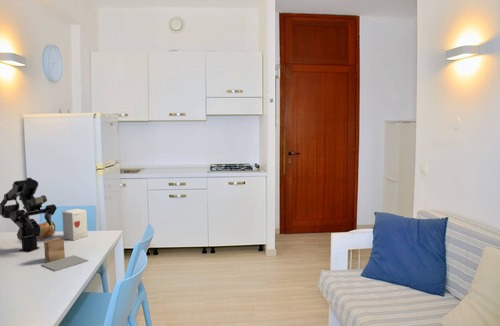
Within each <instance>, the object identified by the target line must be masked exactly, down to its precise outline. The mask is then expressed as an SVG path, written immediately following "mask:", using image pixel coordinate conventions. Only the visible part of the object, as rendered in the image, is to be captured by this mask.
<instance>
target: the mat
mask: <svg viewBox="0 0 500 326" xmlns="http://www.w3.org/2000/svg"><path fill="white" fill-rule="evenodd" d="M86 262H89V260H88V259H86V258H84V257H83V258H82V257H80V256H77V255H75V254H73V255H70V256H65V258H62V259H59V260H55V261H52V262H45V263H42V264H40V265H41V267H45V268H47V269H49V270H51V271H53V270H54V271H53V272H58V271H61V270H64V269H66V268H67V269H68V268H70V267H74V266H77V265H81V264H84V263H86Z"/></svg>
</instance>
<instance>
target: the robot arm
mask: <svg viewBox="0 0 500 326" xmlns="http://www.w3.org/2000/svg"><path fill="white" fill-rule="evenodd" d="M38 187H39V181H37V180H35V179H32V177H26V179H23V180H14V182H13V183H12V187H11V189H10V190H8V191H7V192H6V193H5V194H3V199H2V200H1V202H0V216H1V217H2V218H4V219H10V220H11V222H13V223H14V224H15V226H17V227H18V230H17V233H16V236H17V239H18V240H19V241H21V242H20V243H21V248H20V249H19V251H20V252H24V253H25V252H26V253H29V252H32V251H36V250H38V249H40V247H39V246H38V243H37V241H38V240H36V237H37V236H39V235H40V226H39V224H40V223H37V220H35V219H34V218H29V216H31V217H32V216H36V215H41V214H43V215H44V217H43V218H44V219H45V222H47V223H48V224H49V225H50V226H51V221H52V216H53V215H54V214H55V212H56V210H57V209H58V207H57V206H56V205H55V204H47V205H45V206H44V207H45V208H42V207H43V204H45V203H47V202H48V199H47V196H46V195H45V194H44V195H40V196H39V197H35V196H34V195H35V194H36V191H37V190H38ZM18 200H19V201H20V202H21V203H22V205H23V206H22V209H20V203H19V202H18ZM11 201H15V204H10V205H9V204H8V205H6V204H7V203H8V202H11ZM41 208H42V209H41Z"/></svg>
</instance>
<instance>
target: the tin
mask: <svg viewBox="0 0 500 326" xmlns="http://www.w3.org/2000/svg"><path fill="white" fill-rule="evenodd" d="M38 224H39V226H40V235H39V236H37V237H36V240H37V241H43V240H45V239H48V238H50V237H52V236H53V235H54V234H55V233H56V224H55V223H54V221H52V220H51V226H50V225H49V224H48V223H47V221H44V222H42V223H38Z"/></svg>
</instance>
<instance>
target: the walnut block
mask: <svg viewBox="0 0 500 326" xmlns="http://www.w3.org/2000/svg"><path fill="white" fill-rule="evenodd" d="M64 239H65V238H61V237H58V238H54V239H50V240H46V241H43V246H44V247H43V248H44V261H45V262H47V261H48V262H47V263H49V262H52V261H55V260H59V259H62V258H66V255H65V241H64Z"/></svg>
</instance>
